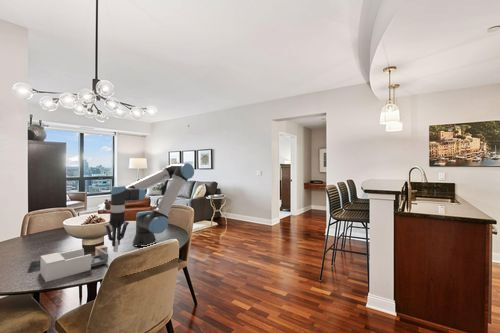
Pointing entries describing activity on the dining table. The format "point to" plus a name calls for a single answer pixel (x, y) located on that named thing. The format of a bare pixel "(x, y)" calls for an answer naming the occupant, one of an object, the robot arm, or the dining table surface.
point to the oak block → (100, 248)
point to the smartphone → (34, 266)
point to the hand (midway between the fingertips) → (115, 251)
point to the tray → (100, 258)
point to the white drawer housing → (64, 264)
